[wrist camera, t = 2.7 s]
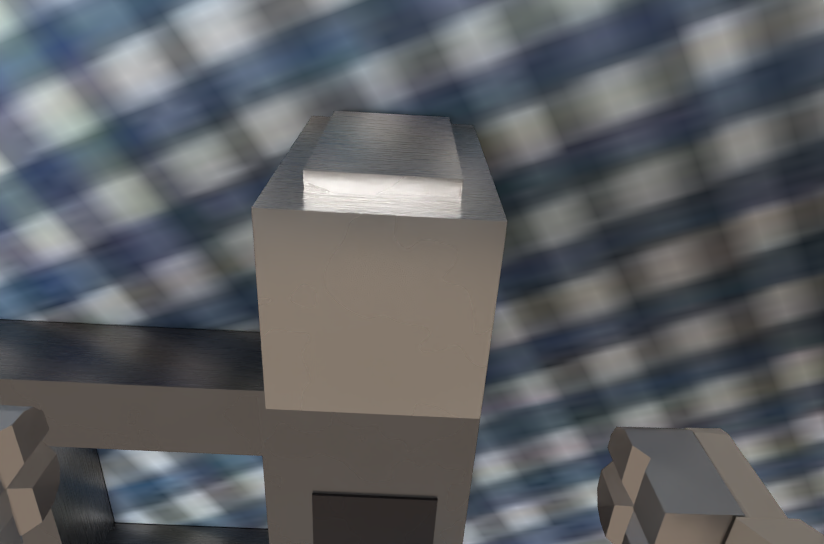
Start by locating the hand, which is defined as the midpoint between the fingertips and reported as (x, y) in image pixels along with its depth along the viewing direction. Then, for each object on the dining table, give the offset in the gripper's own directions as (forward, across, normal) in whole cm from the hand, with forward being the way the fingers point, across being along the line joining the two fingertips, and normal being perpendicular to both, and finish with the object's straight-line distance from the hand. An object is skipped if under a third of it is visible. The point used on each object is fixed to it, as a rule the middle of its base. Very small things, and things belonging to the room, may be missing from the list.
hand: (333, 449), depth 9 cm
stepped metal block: (+10, -1, 0) cm, 10 cm away
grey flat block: (+10, +6, +11) cm, 16 cm away
